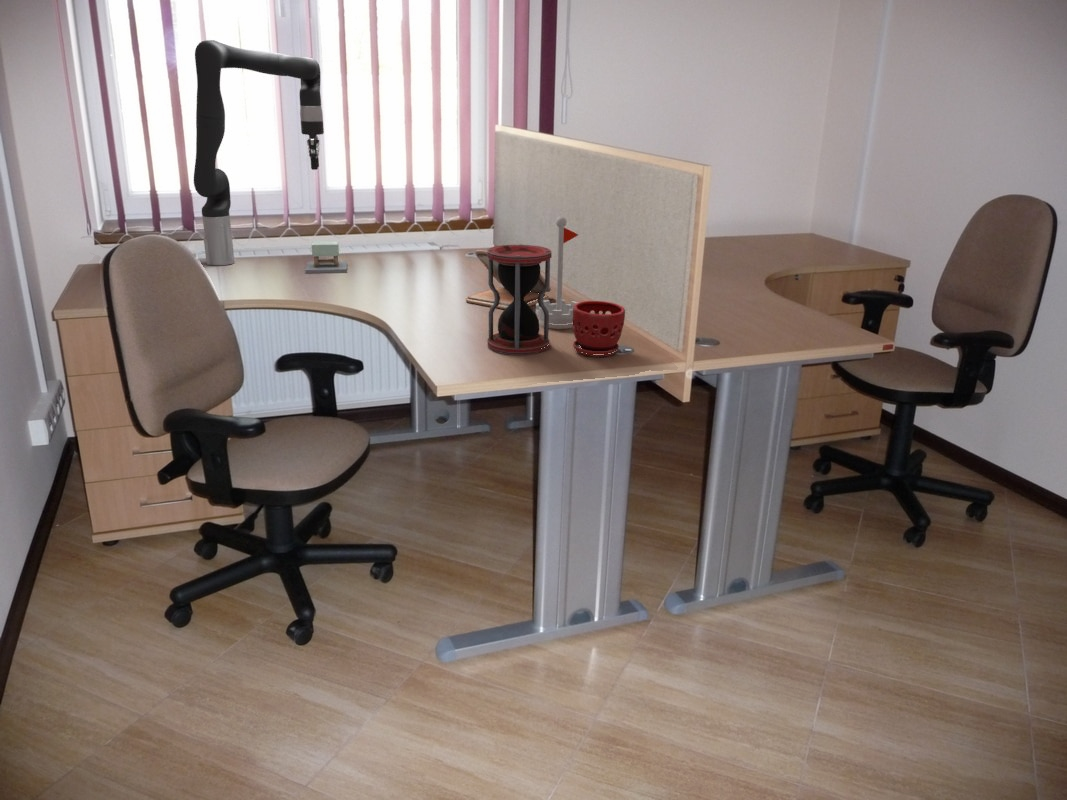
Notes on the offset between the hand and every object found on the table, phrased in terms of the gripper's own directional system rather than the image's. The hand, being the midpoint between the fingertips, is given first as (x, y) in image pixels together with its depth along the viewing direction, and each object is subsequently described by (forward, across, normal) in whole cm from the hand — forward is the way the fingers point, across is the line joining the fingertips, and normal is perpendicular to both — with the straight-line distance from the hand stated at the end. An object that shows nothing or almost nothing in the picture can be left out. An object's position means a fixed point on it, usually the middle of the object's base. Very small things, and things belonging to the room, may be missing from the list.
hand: (315, 168), depth 301 cm
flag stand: (+34, -89, -69) cm, 118 cm away
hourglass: (+34, -109, -54) cm, 126 cm away
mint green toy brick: (+33, -8, -2) cm, 34 cm away
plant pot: (+34, -117, -73) cm, 142 cm away
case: (+34, -61, -59) cm, 92 cm away
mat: (+34, -8, -2) cm, 35 cm away
